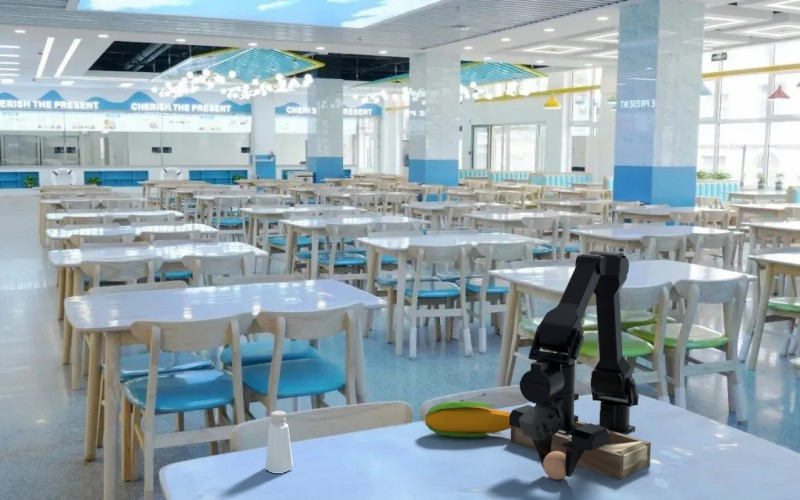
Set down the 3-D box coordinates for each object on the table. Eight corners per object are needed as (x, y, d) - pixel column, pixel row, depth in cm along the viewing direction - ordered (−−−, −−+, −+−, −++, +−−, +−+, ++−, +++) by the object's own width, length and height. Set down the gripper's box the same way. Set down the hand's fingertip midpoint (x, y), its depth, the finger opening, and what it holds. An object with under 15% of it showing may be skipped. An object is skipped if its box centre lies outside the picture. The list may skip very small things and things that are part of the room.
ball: (554, 470, 153) (554, 445, 153) (576, 478, 150) (576, 452, 149) (537, 478, 150) (537, 451, 150) (559, 486, 146) (559, 459, 146)
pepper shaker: (298, 465, 157) (297, 409, 156) (285, 476, 152) (284, 418, 151) (273, 461, 159) (272, 406, 157) (259, 472, 154) (258, 415, 152)
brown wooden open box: (541, 430, 175) (542, 408, 175) (649, 465, 156) (650, 440, 155) (510, 441, 169) (510, 418, 168) (619, 479, 149) (620, 453, 149)
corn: (425, 394, 176) (519, 395, 175) (425, 428, 177) (518, 428, 176) (424, 407, 168) (522, 408, 167) (424, 442, 170) (522, 443, 169)
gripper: (489, 386, 150) (488, 468, 151) (573, 410, 136) (571, 500, 138) (529, 375, 157) (527, 453, 159) (612, 396, 143) (610, 482, 145)
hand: (556, 471), depth 150 cm, fingers closed on ball, 5 cm apart
